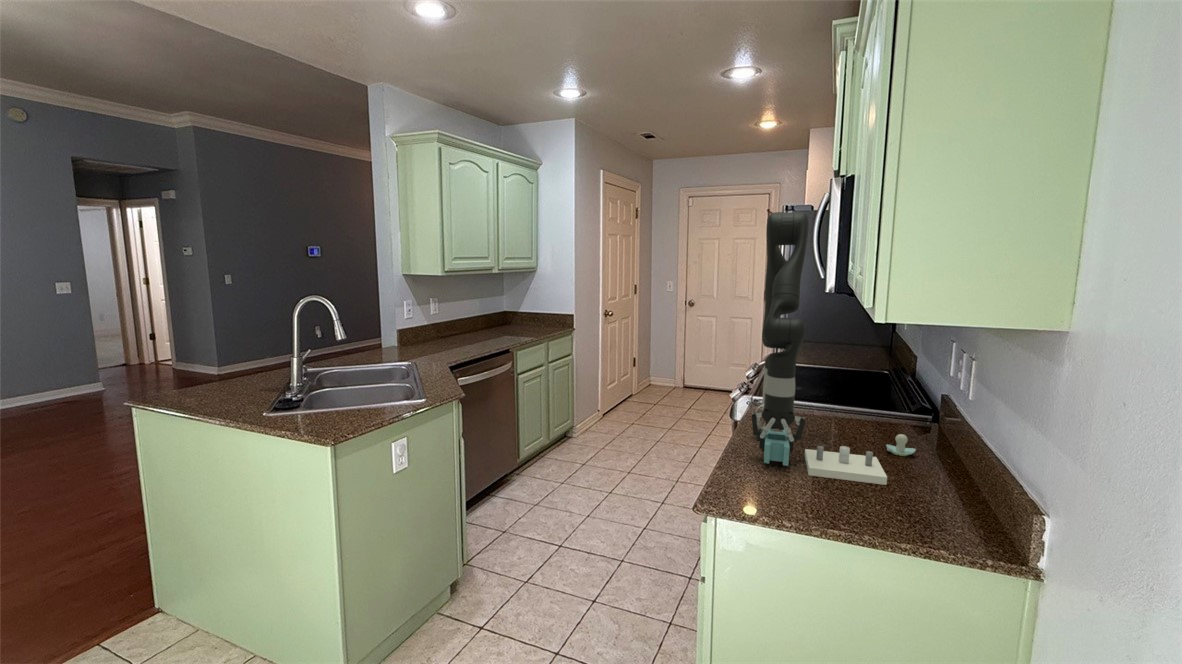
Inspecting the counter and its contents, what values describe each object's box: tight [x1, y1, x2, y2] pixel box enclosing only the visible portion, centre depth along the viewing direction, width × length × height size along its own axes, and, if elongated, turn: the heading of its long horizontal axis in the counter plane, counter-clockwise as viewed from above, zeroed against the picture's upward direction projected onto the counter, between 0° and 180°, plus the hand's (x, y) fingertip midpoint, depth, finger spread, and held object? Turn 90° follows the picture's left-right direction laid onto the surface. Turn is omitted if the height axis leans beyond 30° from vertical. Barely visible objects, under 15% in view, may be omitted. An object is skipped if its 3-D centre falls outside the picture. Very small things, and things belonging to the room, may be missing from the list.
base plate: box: [804, 445, 888, 486], centre depth 145 cm, size 14×18×6 cm
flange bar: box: [763, 429, 790, 467], centre depth 150 cm, size 14×6×5 cm, turn 163°
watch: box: [754, 404, 777, 442], centre depth 166 cm, size 6×8×11 cm
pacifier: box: [885, 433, 916, 457], centre depth 157 cm, size 7×6×6 cm
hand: (775, 451), depth 150 cm, fingers closed on flange bar, 6 cm apart
